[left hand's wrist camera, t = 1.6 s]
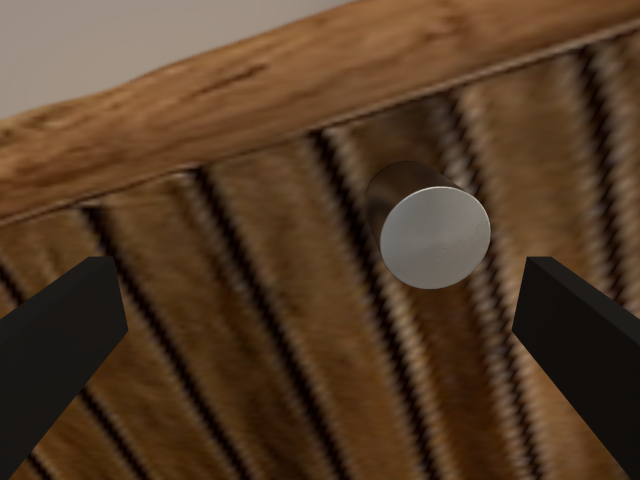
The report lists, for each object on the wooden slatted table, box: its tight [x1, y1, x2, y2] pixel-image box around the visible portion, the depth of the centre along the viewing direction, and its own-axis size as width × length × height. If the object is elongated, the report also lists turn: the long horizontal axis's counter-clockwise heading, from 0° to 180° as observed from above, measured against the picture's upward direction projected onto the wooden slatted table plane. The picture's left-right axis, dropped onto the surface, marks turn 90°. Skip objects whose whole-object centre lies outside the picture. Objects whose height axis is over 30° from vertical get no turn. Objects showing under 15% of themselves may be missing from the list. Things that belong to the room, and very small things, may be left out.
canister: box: [364, 161, 490, 289], centre depth 23 cm, size 6×6×7 cm
